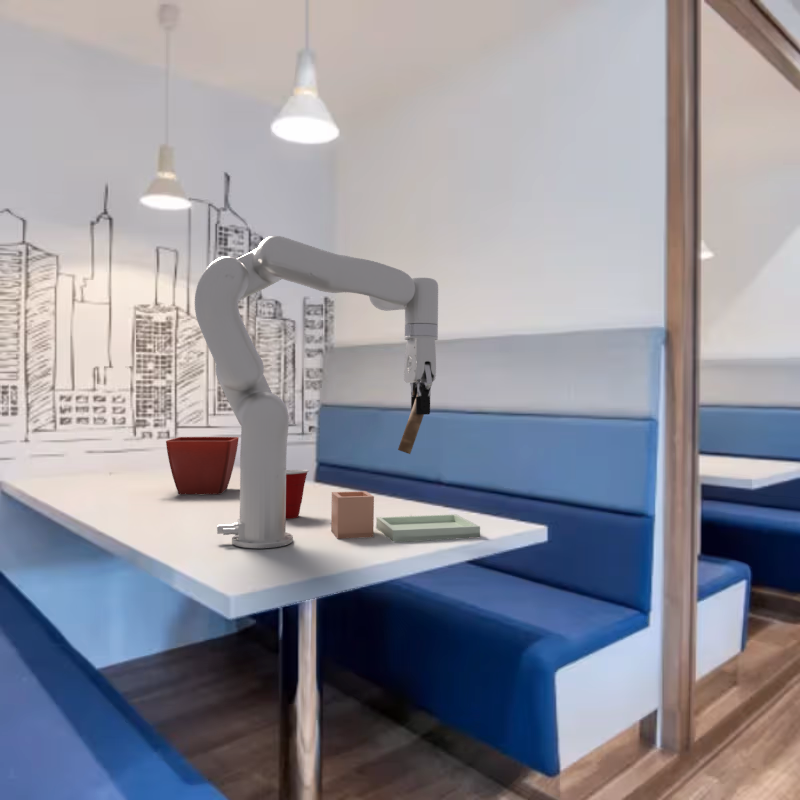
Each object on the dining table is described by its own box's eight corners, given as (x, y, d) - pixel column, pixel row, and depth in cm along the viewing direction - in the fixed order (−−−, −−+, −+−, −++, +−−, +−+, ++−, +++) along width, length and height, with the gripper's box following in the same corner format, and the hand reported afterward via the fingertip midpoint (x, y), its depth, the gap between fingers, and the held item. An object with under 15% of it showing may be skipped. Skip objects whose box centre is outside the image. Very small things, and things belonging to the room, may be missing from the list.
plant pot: (178, 487, 215) (179, 436, 215) (238, 487, 217) (239, 436, 217) (164, 497, 196) (164, 440, 196) (230, 496, 198) (230, 440, 198)
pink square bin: (337, 538, 143) (338, 497, 143) (331, 531, 151) (331, 492, 151) (373, 537, 146) (373, 496, 146) (365, 529, 153) (365, 491, 153)
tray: (392, 542, 141) (393, 530, 141) (376, 527, 156) (376, 517, 156) (479, 537, 147) (480, 526, 147) (455, 524, 161) (456, 514, 161)
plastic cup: (290, 511, 176) (290, 466, 176) (316, 516, 169) (317, 469, 168) (256, 516, 168) (256, 469, 168) (282, 522, 161) (283, 473, 160)
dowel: (399, 455, 148) (399, 391, 147) (396, 453, 150) (396, 391, 150) (432, 454, 150) (432, 391, 149) (427, 452, 152) (428, 391, 152)
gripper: (395, 335, 157) (395, 412, 157) (416, 329, 141) (415, 415, 141) (425, 336, 159) (425, 412, 159) (449, 330, 143) (448, 415, 143)
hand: (420, 413), depth 150 cm, fingers closed on dowel, 3 cm apart
